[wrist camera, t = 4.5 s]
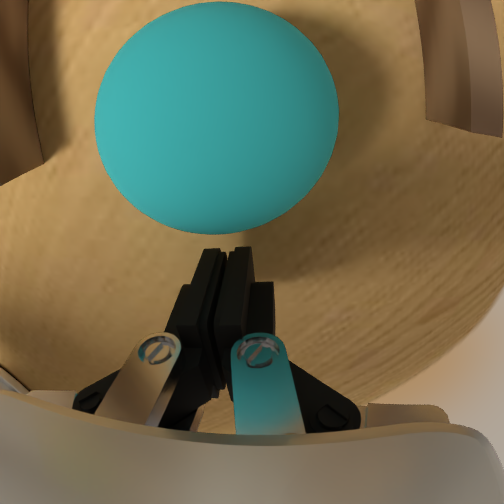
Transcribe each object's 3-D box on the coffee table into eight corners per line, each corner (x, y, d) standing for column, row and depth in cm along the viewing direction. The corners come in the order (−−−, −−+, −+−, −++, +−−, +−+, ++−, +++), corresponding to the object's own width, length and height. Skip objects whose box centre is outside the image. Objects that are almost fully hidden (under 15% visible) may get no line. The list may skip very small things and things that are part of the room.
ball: (421, 110, 3) (336, -9, 6) (-3, 113, 3) (125, -9, 5) (317, 277, 8) (304, 131, 11) (113, 266, 8) (153, 126, 11)
